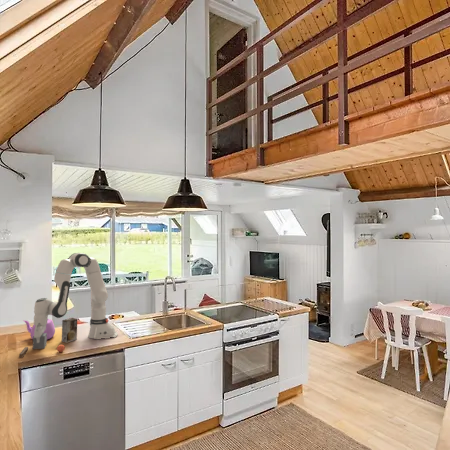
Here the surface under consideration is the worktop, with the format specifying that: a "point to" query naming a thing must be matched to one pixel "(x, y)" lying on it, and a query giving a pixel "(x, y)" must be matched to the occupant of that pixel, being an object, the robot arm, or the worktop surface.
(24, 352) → the bar
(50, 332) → the teapot
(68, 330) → the coffee box
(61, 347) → the ball
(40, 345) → the gray block
